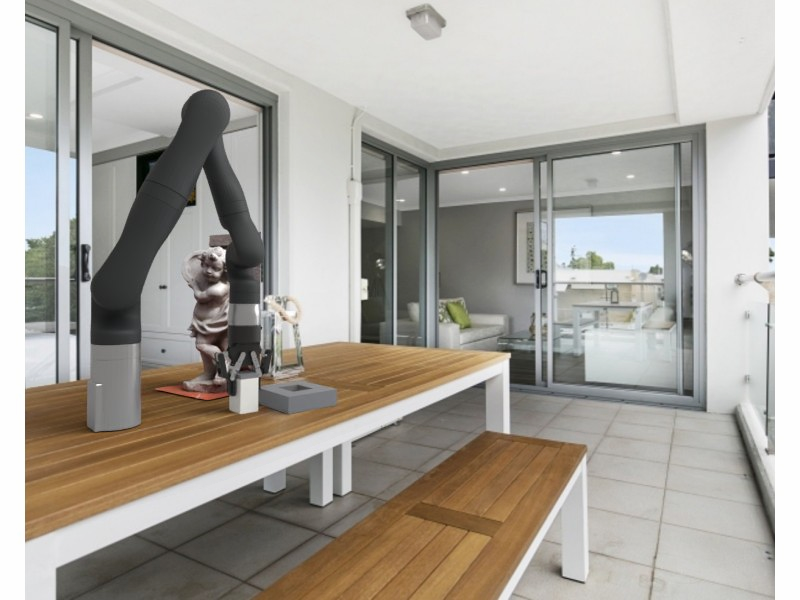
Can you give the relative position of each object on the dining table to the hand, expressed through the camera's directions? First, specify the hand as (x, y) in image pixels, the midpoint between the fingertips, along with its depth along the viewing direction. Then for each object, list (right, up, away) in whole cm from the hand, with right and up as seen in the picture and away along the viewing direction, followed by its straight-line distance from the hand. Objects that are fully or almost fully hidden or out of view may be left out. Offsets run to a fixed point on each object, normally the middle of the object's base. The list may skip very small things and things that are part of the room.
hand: (243, 393), depth 119 cm
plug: (0, -4, 0) cm, 4 cm away
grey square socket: (+11, -4, +8) cm, 14 cm away
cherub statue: (-17, -3, +23) cm, 29 cm away
